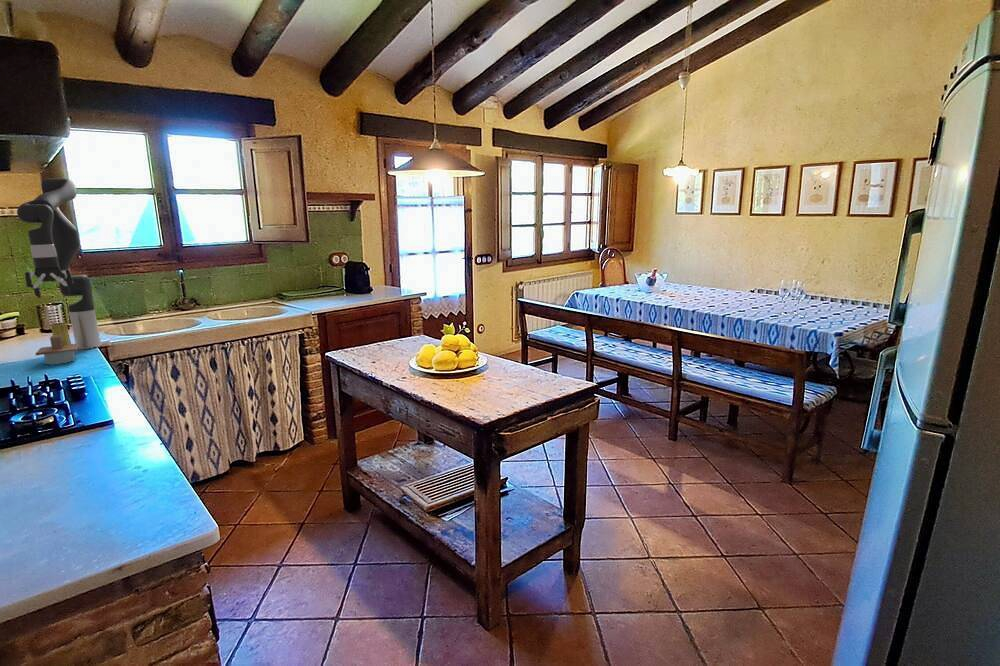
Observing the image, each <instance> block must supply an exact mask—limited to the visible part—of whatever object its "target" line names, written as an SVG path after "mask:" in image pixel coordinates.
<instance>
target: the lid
mask: <svg viewBox="0 0 1000 666" xmlns="http://www.w3.org/2000/svg"><path fill="white" fill-rule="evenodd" d="M49 340H50V345H51V346H44V347H40V348H39V349H38V350H37V351H36V352H35V356H41V355H42V356H44V354H52V353H60V352H69V351H74V352H75V351H77V350H79V349H78V347H79V346H80V343H77V344H75V343H71V344H69V345H64V343H63V339H62V335H53V334H52V335H51V336H50V337H49Z"/></svg>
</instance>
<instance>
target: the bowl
mask: <svg viewBox="0 0 1000 666" xmlns="http://www.w3.org/2000/svg"><path fill="white" fill-rule="evenodd" d="M75 355H76V354H75V351H69V352H60V353H52V354H43V357H44V361H45V365H46V364H57V365H60V364H59V363H65V364H67V362H69V363H71V362H70V361H73V362H75V361H76V356H75ZM74 360H75V361H74Z"/></svg>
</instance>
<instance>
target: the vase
mask: <svg viewBox="0 0 1000 666" xmlns="http://www.w3.org/2000/svg"><path fill="white" fill-rule="evenodd" d="M50 328H51V333H52V335H62V339H63V343H64V345H69V344H72V342H71V338H70V334H69V329H68V324H67V322H57V323H51V324H50Z"/></svg>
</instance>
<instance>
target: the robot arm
mask: <svg viewBox="0 0 1000 666" xmlns="http://www.w3.org/2000/svg"><path fill="white" fill-rule="evenodd" d="M40 182H41V183H40V186H41V192H42V194H39V195H37V197H35V198H34V199H33V200H29V201H27V202H26V201H25V202H24V203H21V204H20V205H19V206H18V208H17V210H16V215H17V217H18V219H19V220H21V221H22V222H23V223H27V224H38V223H39V224H41V225H40V226H39V227H38V228H33V229H30V230H29V231H28V234H27V235H28V239H29V243H30V252H31V254H30V255H31V258H32V262H33V266H34V271H25V273H24V274H25V277H24V278H25V283H26V287H27V288H30V289H31V288H32V289H33V290H34V295H35V297H37V298H41V297H42V294H41V290H40V287H39V286H40V285H41V284H42V282H45V283H46V282H58V286H59V290H60V292H61V294H62V295H63V297H77V296H78V297H81V296H82V298H81V299H80V300H79V301H76V302H74V303H71V304H69V305H68V307H67V308H68V313H69V318H70V324H71V329H72V332H73V339H74V344H77V343H80V346H79V347H78V349H77V350H89V348H91V349H94V348H93V347H96V348H100V347H101V346H102V341H101V337H100V332H99V331H100V330H99V324H98V320H97V315H96V311H95V310H96V309H95V303H94V297H93V290H92V287H93V286H92V282H91V278H90V277H89V276H88V275H87V274H74V275H73V274H72V272H71V269H70V266H71V263H72V261H73V259H74V258H75V256H76V254H77V253H78V251H79V249H80V247H81V246H80V245H81V244H80V236H79V233H78V232H79V231H78V229H77V227H76V226H75V225H74V224H73V223H72V222H71V221H70V220H69V219H67V217H66V216H65V215H64V213H63V212H62V211H61V210H60V206H62V205H64V204H65V203H67V202H69V201H72V200H74V199H75V198H76V197H77V187H76V184H75V183H74V181H73V180H71V179H69V178H63V177H58V178H57V177H56V178H47V177H46V178H43V179H42V180H41V181H40ZM33 276H35V277H37V278H38V279H37V280H36V282H35V283H34V284H33V281H32V278H33Z"/></svg>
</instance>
